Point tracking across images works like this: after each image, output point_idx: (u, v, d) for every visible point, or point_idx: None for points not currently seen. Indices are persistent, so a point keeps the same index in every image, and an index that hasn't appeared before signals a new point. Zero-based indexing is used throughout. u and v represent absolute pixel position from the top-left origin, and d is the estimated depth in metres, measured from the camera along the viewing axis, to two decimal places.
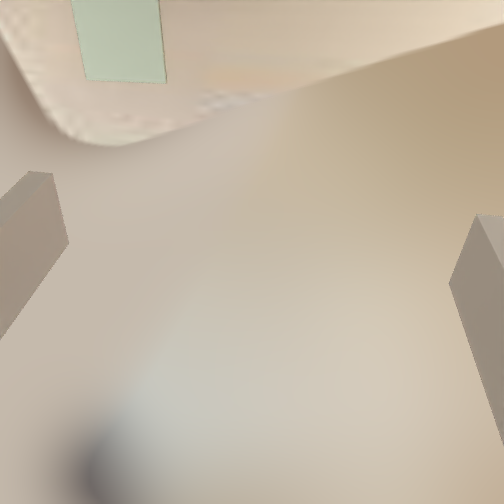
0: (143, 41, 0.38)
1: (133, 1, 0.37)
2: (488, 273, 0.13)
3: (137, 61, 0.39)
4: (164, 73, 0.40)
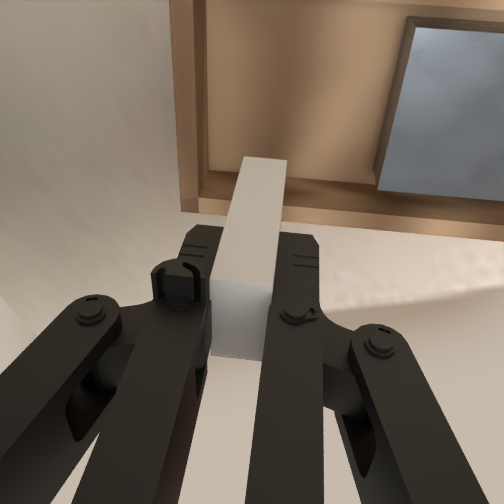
0: None
1: None
2: None
3: None
4: None
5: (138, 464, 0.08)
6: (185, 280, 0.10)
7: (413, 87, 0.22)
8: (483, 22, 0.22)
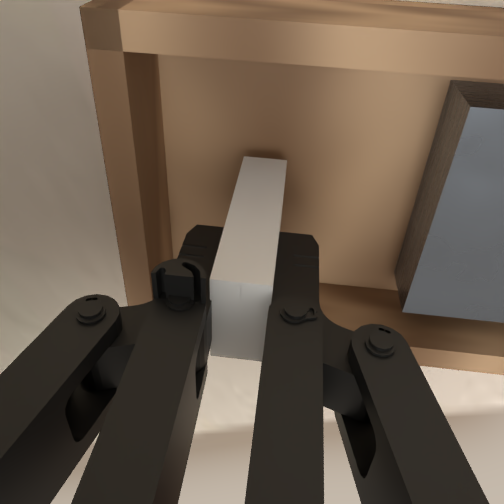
0: None
1: None
2: None
3: None
4: None
5: (137, 464, 0.08)
6: (185, 280, 0.10)
7: (461, 187, 0.15)
8: None
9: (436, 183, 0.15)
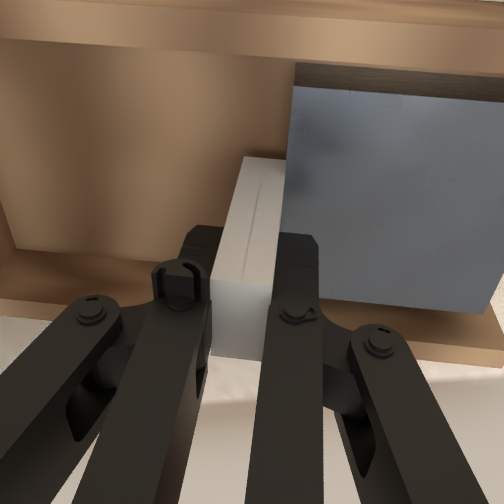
0: None
1: None
2: None
3: None
4: None
5: (138, 464, 0.08)
6: (185, 280, 0.10)
7: (302, 167, 0.15)
8: (403, 73, 0.15)
9: None
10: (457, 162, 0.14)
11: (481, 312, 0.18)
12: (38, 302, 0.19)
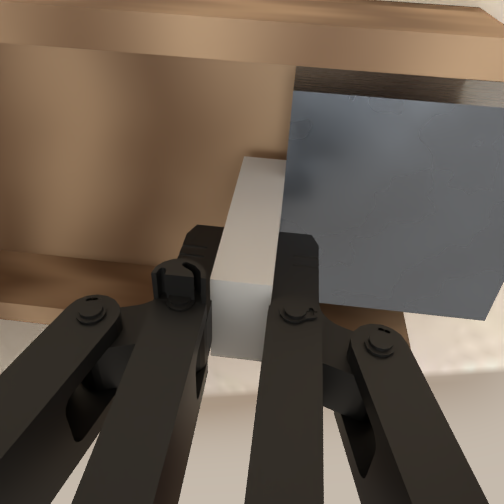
0: None
1: None
2: None
3: None
4: None
5: (137, 464, 0.08)
6: (185, 280, 0.10)
7: (302, 172, 0.15)
8: (404, 77, 0.15)
9: None
10: (458, 167, 0.14)
11: (482, 318, 0.18)
12: None
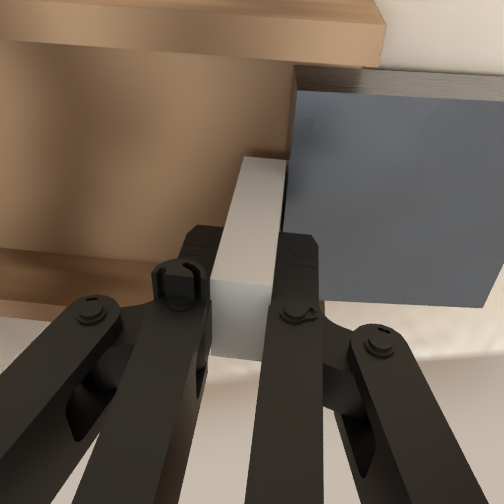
0: None
1: None
2: None
3: None
4: None
5: (137, 464, 0.08)
6: (185, 280, 0.10)
7: (305, 171, 0.15)
8: (401, 74, 0.15)
9: (287, 168, 0.16)
10: (458, 160, 0.14)
11: (480, 305, 0.18)
12: None
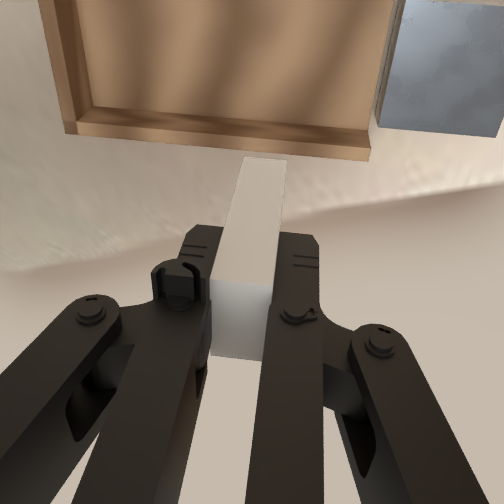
0: None
1: None
2: None
3: None
4: None
5: (137, 464, 0.08)
6: (185, 280, 0.10)
7: (404, 44, 0.30)
8: None
9: (393, 46, 0.30)
10: (484, 39, 0.29)
11: (494, 136, 0.32)
12: (110, 125, 0.34)
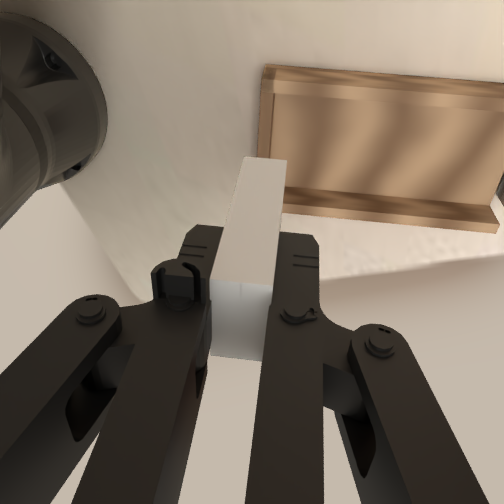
0: None
1: None
2: None
3: None
4: None
5: (137, 464, 0.08)
6: (185, 280, 0.10)
7: None
8: None
9: None
10: None
11: None
12: (292, 204, 0.43)
